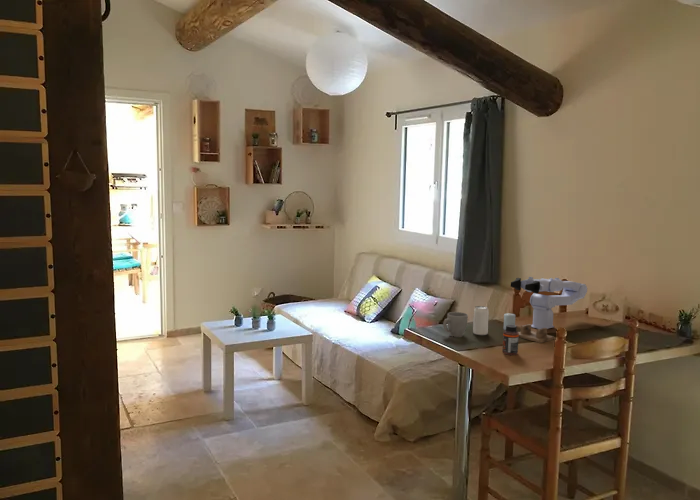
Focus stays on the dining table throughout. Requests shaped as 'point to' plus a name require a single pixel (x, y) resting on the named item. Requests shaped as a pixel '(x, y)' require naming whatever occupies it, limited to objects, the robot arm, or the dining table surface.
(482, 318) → the can
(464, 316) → the mug
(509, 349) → the supplement bottle
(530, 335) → the holder
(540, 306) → the robot arm
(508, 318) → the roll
